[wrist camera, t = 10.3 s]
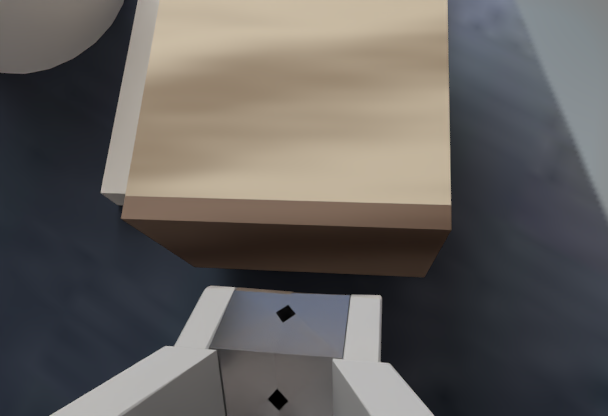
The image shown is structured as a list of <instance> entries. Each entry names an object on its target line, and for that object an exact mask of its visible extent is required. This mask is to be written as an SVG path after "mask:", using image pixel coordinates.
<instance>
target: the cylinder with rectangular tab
mask: <svg viewBox="0 0 608 416" xmlns="http://www.w3.org/2000/svg"><path fill="white" fill-rule="evenodd" d="M123 2H124V0H0V73H15V74H27V73H32V72H37V71H42V70H47V69H51V68H53V67H55V66H58V65H60V64H62V63H64V62H67V61H69V60H71V59H74V58H75V57H76V56H78V55H79V54H81V53H82V52H83V51H85V50H86V49H88V48H89V47H90V46H92V45H93V44H95V43H96V41H97V40H98V39H99V38H100V37H101V36H102V35H103V34H104V33H105V32H106V30H107V29H108V28H109V27H110V26H111V25H112V23H113V21H114V20H115V18H116V16H117V14H118V12H119V11H120V9H121V7H122V5H123Z"/></svg>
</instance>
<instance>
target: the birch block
mask: <svg viewBox="0 0 608 416" xmlns="http://www.w3.org/2000/svg"><path fill="white" fill-rule="evenodd" d="M121 219H122V220H124V221H125V222H127V223H128V224H130V225H131V226H133V227H134V228H136V229H137V230H139V231H140V232H142V233H144V234H145V235H147V236H148V237H150V238H151V239H153V240H154V241H156V242H157V243H159V244H160V245H162V246H163V247H165V248H166V249H168V250H169V251H171V252H172V253H174V254H175V255H177V256H178V257H180V258H182V259H183V260H185V261H186V262H188V263H189V264H191V265H192V266H194V267H204V268H226V269H249V270H271V271H293V272H316V273H338V274H360V275H383V276H405V277H425V275H426V273H427V272H428V270H429V268H430V266H431V265H432V263H433V261H434V260H435V258H436V256H437V254H438V253H439V251H440V249H441V247H442V246H443V244H444V242H445V240H446V239H447V237H448V235H449V233H450V232H451V174H450V118H449V62H448V6H447V0H160V1H159V6H158V12H157V18H156V23H155V29H154V35H153V40H152V46H151V52H150V57H149V63H148V69H147V74H146V80H145V86H144V91H143V97H142V103H141V108H140V114H139V120H138V125H137V131H136V137H135V142H134V148H133V154H132V159H131V165H130V171H129V176H128V182H127V188H126V193H125V199H124V205H123V210H122V216H121Z"/></svg>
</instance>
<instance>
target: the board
mask: <svg viewBox="0 0 608 416" xmlns="http://www.w3.org/2000/svg"><path fill="white" fill-rule="evenodd" d="M159 1H160V0H138V2H137V7H136V13H135V18H134V23H133V28H132V33H131V38H130V43H129V49H128V54H127V59H126V64H125V69H124V74H123V79H122V85H121V90H120V95H119V100H118V105H117V110H116V115H115V121H114V126H113V131H112V136H111V141H110V146H109V151H108V157H107V162H106V167H105V172H104V177H103V182H102V187H101V194H103V195H104V196H106V197H107V198H108V199H110V200H111V201H113V202H114V203H115V204H117V205H124V199H125V193H126V188H127V182H128V176H129V171H130V165H131V159H132V154H133V148H134V142H135V137H136V131H137V125H138V120H139V114H140V108H141V103H142V97H143V91H144V86H145V80H146V74H147V69H148V63H149V57H150V52H151V46H152V40H153V35H154V29H155V23H156V18H157V12H158V6H159Z"/></svg>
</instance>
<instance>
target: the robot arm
mask: <svg viewBox="0 0 608 416" xmlns="http://www.w3.org/2000/svg"><path fill="white" fill-rule="evenodd" d="M381 324H382V297H381V296H380V295H353V294H352V295H335V294H315V293H295V292H289V291H277V290H265V289H252V288H240V287H238V288H236V287H224V286H209V287H207V288H206V289H205V290H204V291H203V293H202V295H201V297H200V299H199V301H198V303H197V304H196V306H195V308H194V310H193V312H192V314H191V316H190V317H189V319H188V321H187V323H186V325H185V327H184V329H183V330H182V332H181V334H180V336H179V338H178V340H177V342H176V343H175V345H174V347H173V346H165V347H163V348H161V349H160V350H158V351H156V352H155V353H153V354H151V355H150V356H148V357H146V358H145V359H143V360H141V361H140V362H138V363H136V364H135V365H133V366H131V367H130V368H128V369H126V370H125V371H123V372H121V373H120V374H118V375H116V376H115V377H113V378H111V379H110V380H108V381H106V382H105V383H103V384H102V385H100V386H98V387H97V388H95V389H93V390H92V391H90V392H88V393H87V394H85V395H83V396H82V397H80V398H78V399H77V400H75V401H73V402H72V403H70V404H68V405H67V406H65V407H63V408H62V409H60V410H58V411H57V412H55V413H53V414H52V415H50V416H434V415H433V413H432V412H431V411H430V410H429V409H428V407H427V406H426V405H425V404H424V403H423V402H422V400H421V399H420V398H419V397H418V396H417V395H416V393H415V392H414V391H413V390H412V389H411V388H410V386H409V385H408V384H407V383H406V382H405V380H404V379H403V378H402V377H401V376H400V375H399V373H398V372H397V371H396V370H395V369H394V368H393V366H392V365H391V364H390V363H382V362H381Z"/></svg>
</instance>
